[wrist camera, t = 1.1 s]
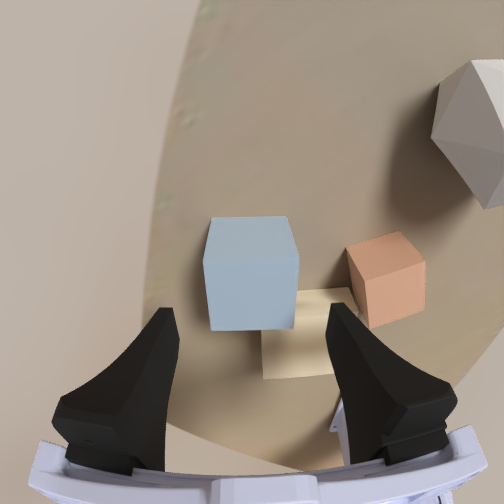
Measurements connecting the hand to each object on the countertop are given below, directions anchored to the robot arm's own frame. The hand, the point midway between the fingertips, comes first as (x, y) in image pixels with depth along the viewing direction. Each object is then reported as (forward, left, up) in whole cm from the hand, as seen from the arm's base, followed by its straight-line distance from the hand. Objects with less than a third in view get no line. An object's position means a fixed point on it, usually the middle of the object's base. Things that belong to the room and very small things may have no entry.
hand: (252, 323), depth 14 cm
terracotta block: (-1, -9, -7) cm, 11 cm away
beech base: (-7, -4, -7) cm, 10 cm away
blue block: (0, 0, -7) cm, 7 cm away
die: (+9, -14, -7) cm, 18 cm away
